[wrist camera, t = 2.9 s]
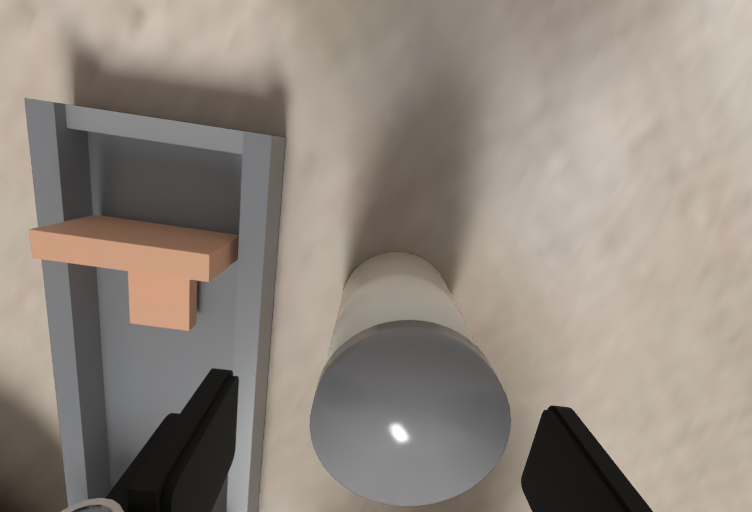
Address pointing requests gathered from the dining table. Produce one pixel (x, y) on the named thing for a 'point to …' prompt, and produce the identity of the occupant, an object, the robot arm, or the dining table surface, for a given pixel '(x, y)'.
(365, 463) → the jar
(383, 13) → the dining table surface
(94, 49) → the dining table surface
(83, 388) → the lane
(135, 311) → the pusher
